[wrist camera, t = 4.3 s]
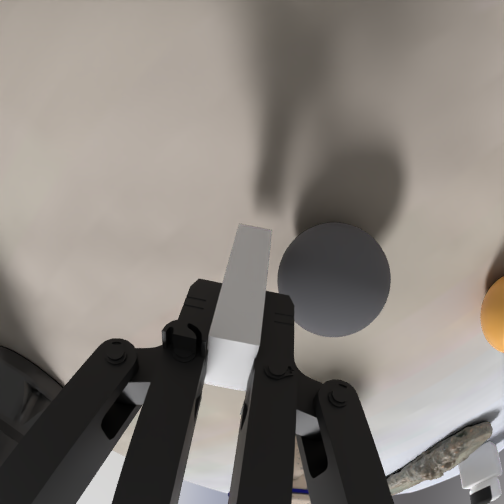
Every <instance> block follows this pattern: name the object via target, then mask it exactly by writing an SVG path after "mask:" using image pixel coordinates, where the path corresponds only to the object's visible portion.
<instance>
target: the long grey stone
mask: <svg viewBox="0 0 504 504" xmlns="http://www.w3.org/2000/svg"><path fill="white" fill-rule="evenodd" d="M491 435H492V426H491V424H490V422H482V423H480V424H476V425H474V426H472V427H466V428H464V429H463V430H461V431H460V432H458V433H456V434H455V435H453V436H451V437H449V438H447V439H445V440H443V441H441V442H439V443H438V444H437V445H436V446H434V447H433V448H431V449H430V450H427V451H425V452H422V454H421V455H420V456H418V457H417V458H416V459H415V460H414V461H412V462H410V463H409V464H408V465H406V466H405V467H404V468H403V469H402V470H401V472H397V473H395V474H391V475H390V477H388V478H387V483H388V486H389V489H390V492H391V495H395V494H398V493H400V492H402V491H403V490H405V489H408V488H410V487H413V486H415V485H417V484H419V483H420V482H422V481H424V480H432V479H437V478H440V477H441V476H443V473H444V472H446V471H448V470H451V469H452V468H454V467H455V466H456V465H458V464H460V463H461V462H463V461H464V460H466V459H468V457H469V455H470V454H472V453H473V452H474V451H476V450H477V449H478V448H479V447H480V446H481V445H482V444H483V443H484V442H485V441H486V440H487V439H488V438H489V437H490V436H491Z"/></svg>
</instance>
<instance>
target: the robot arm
mask: <svg viewBox="0 0 504 504" xmlns="http://www.w3.org/2000/svg"><path fill="white" fill-rule="evenodd" d="M271 236H272V230H270V229H265V228H260V227H254V226H249V225H244V224H239V226H238V229H237V233H236V237H235V240H234V244H233V247H232V251H231V254H230V258H229V262H228V265H227V269H226V272H225V276H224V280H223V283H218V282H213V281H208V280H203V279H198V280H197V281H196V282H195V283H194V284H192V285H191V286H190V289H189V291H188V294H187V298H186V299H185V302H184V305H183V307H182V310H181V313H180V315H179V318H178V320H175V321H172V322H170V323H168V324H167V325H166V326H165V327H164V328H163V330H162V342H163V345H161V346H158V347H154V348H134V346H133V345H132V344H131V343H130V342H129V341H127V340H124V339H110V340H107V341H105V342H104V343H102V344H101V345H100V346H99V347H98V348H97V349H96V350H95V351H94V353H93V354H92V355H91V356H90V357H89V358H88V359H87V361H86V362H85V363H84V364H83V365H82V366H81V368H80V369H79V370H78V371H77V372H76V373H75V375H74V376H73V377H72V378H71V379H70V380H69V382H68V383H67V384H66V385H65V386H64V388H62V387H61V386H60V385H59V384H58V383H57V382H55V381H54V380H53V379H52V378H51V377H50V376H48V375H47V374H46V373H45V372H43V371H42V370H41V369H39V368H38V367H37V366H35V365H34V364H32V363H31V362H29V361H28V360H26V359H25V358H23V357H22V356H20V355H18V354H16V353H15V352H13V351H11V350H9V349H6V348H4V347H0V504H76V502H77V501H78V500H79V498H80V496H81V495H82V494H83V492H84V491H85V489H86V488H87V486H88V485H89V483H90V482H91V480H92V479H93V477H94V476H95V474H96V473H97V471H98V470H99V468H100V467H101V466H102V464H103V463H104V461H105V460H106V458H107V457H108V455H109V454H110V452H111V451H112V449H113V448H114V446H115V445H116V443H117V442H118V440H119V439H120V437H121V436H122V434H123V433H124V432H125V430H126V429H127V427H128V426H129V424H130V423H131V421H132V420H133V418H134V417H135V415H136V414H137V412H138V411H139V409H140V408H141V406H142V405H143V406H142V409H141V412H140V415H139V418H138V421H137V424H136V427H135V430H134V433H133V436H132V439H131V442H130V445H129V448H128V451H127V455H126V458H125V461H124V464H123V468H122V471H121V474H120V477H119V481H118V484H117V487H116V491H115V494H114V498H113V501H112V504H178V500H179V496H180V491H181V486H182V482H183V477H184V473H185V468H186V464H187V459H188V455H189V450H190V446H191V441H192V437H193V432H194V428H195V424H196V419H197V415H198V410H199V406H200V402H201V397H202V389H203V385H204V383H205V384H209V385H214V386H219V387H224V388H230V389H235V390H241V391H246V396H245V400H244V404H243V407H242V410H241V413H240V415H241V422H240V428H239V435H238V442H237V448H236V455H235V461H234V468H233V474H232V481H231V487H230V493H229V500H228V504H291V503H292V489H293V474H294V456H295V436H296V439H297V444H298V448H299V453H300V457H301V461H302V466H303V470H304V475H305V479H306V484H307V488H308V492H309V497H310V501H311V504H394V502H393V499H392V495H391V492H390V489H389V486H388V483H387V479H386V476H385V473H384V470H383V467H382V464H381V461H380V458H379V455H378V452H377V449H376V446H375V443H374V440H373V437H372V434H371V431H370V428H369V425H368V423H367V420H366V417H365V414H364V411H363V408H362V406H361V403H360V400H359V397H358V394H357V393H356V391H355V389H354V388H353V387H352V386H351V385H350V384H348V383H347V382H344V381H342V380H330V381H327V382H325V383H324V384H322V383H320V382H318V381H315V380H313V379H311V378H309V377H307V376H305V375H304V374H303V373H301V372H300V371H299V369H298V368H297V367H296V364H295V362H294V304H293V302H292V300H291V298H290V296H289V295H285V294H279V293H274V292H269V291H266V284H267V275H268V265H269V256H270V246H271Z"/></svg>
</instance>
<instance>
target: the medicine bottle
mask: <svg viewBox="0 0 504 504" xmlns="http://www.w3.org/2000/svg"><path fill="white" fill-rule="evenodd" d="M458 466H459V471H460V477H461V483H462V488H463V489H471V491H470V499H471V504H487V503H490V502H492V501H494V500H495V499H497V498H498V497H499V496H500V495H501V493H502V492H501V487H500V482H499V479H497V477H499V476H500V475H502V473H503V472H502V467H501V463H500V458H499V454H498V450H497V446H496V445H495V444H494V443H492V442H491V441H488V442H486V443H484V444H482V445H481V446H480V447H479V448H478V449H477V450H476V451H474V452H473V453H472V454H470V455H469V457H468V459H466V460H464V461H463V462H461V463H460V464H458Z"/></svg>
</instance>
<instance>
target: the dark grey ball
mask: <svg viewBox="0 0 504 504" xmlns="http://www.w3.org/2000/svg"><path fill="white" fill-rule="evenodd" d="M390 283H391V276H390V268H389V264H388V261H387V258H386V255H385V254H384V252H383V250H382V248H381V247H380V245H379V244H378V243H377V242H376V240H375V239H374V238H373V237H371V236H370V235H369V234H368V233H366V232H365V231H363V230H362V229H360V228H358V227H356V226H353V225H349V224H345V223H335V222H333V223H324V224H320V225H317V226H314V227H312V228H309V229H308V230H306V231H304V232H303V233H301V234H300V235H299V236H298V237H296V238H295V239H294V240H293V241H292V243H291V244H290V245H289V247H288V248H287V249H286V251H285V253H284V255H283V257H282V260H281V262H280V265H279V270H278V291H279V294H285V295H289V296H290V298H291V300H292V302H293V304H294V321H295V322H296V323H297V324H298V325H300V326H301V327H302V328H304V329H305V330H307V331H309V332H311V333H314V334H316V335H320V336H325V337H342V336H347V335H350V334H353V333H356V332H358V331H360V330H362V329H363V328H365V327H366V326H368V325H369V324H370V323H371V322H372V321H373V320H374V319H375V318H376V317H377V316H378V315H379V313H380V312H381V310H382V309H383V307H384V305H385V303H386V300H387V298H388V294H389V290H390Z"/></svg>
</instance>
